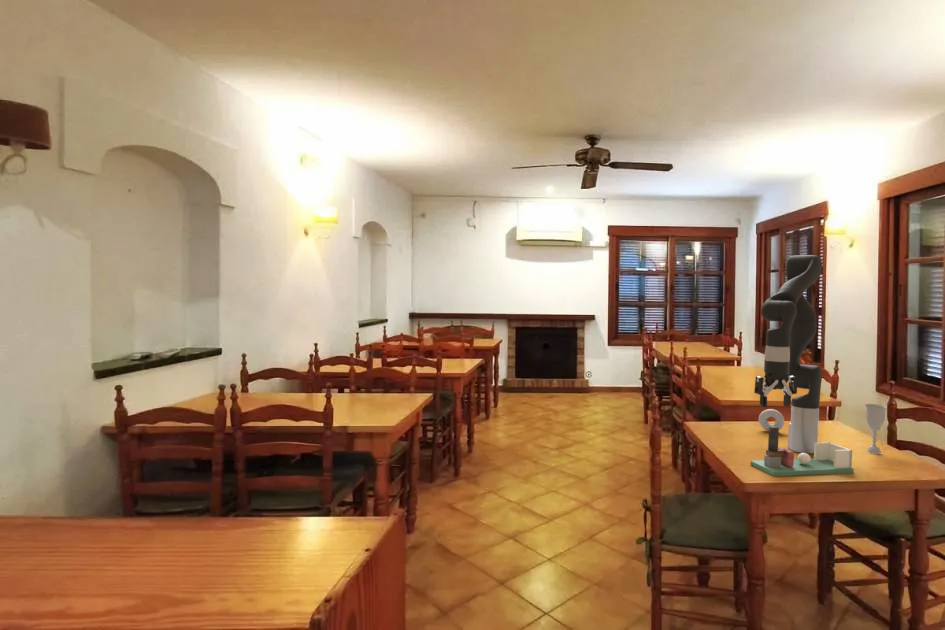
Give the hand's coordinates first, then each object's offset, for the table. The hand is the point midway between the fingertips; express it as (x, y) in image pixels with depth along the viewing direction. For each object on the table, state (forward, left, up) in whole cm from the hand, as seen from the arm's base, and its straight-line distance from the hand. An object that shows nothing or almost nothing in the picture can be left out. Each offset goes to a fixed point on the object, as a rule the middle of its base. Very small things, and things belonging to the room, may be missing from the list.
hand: (775, 406), depth 192 cm
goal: (0, +23, -20) cm, 31 cm away
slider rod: (0, +2, -20) cm, 20 cm away
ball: (0, +12, -18) cm, 22 cm away
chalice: (-15, +54, -22) cm, 60 cm away
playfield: (0, +11, -22) cm, 25 cm away
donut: (-48, +35, -22) cm, 63 cm away
